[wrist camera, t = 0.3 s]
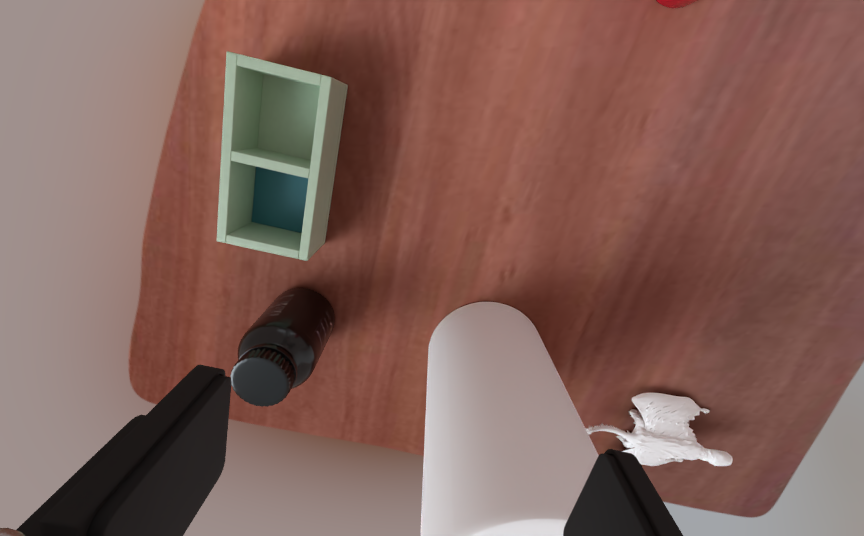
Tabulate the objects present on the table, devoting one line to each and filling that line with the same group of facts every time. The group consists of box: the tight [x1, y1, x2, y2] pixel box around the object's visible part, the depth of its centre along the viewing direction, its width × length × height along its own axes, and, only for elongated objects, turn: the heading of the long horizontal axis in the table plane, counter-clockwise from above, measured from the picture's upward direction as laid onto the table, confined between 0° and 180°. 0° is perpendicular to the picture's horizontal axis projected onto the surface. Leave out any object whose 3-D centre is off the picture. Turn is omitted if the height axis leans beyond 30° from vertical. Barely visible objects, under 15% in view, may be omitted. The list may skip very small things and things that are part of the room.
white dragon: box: [586, 393, 733, 466], centre depth 45 cm, size 18×10×4 cm, turn 78°
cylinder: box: [420, 302, 599, 536], centre depth 33 cm, size 12×12×25 cm
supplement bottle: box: [230, 288, 335, 406], centre depth 37 cm, size 7×7×12 cm
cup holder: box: [217, 52, 348, 261], centre depth 35 cm, size 8×15×6 cm, turn 167°
